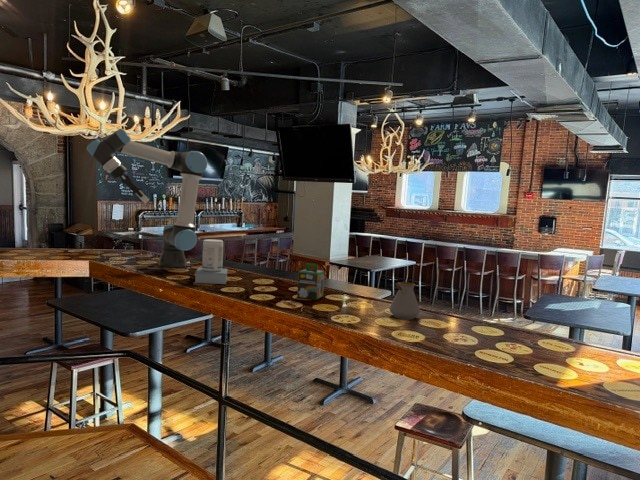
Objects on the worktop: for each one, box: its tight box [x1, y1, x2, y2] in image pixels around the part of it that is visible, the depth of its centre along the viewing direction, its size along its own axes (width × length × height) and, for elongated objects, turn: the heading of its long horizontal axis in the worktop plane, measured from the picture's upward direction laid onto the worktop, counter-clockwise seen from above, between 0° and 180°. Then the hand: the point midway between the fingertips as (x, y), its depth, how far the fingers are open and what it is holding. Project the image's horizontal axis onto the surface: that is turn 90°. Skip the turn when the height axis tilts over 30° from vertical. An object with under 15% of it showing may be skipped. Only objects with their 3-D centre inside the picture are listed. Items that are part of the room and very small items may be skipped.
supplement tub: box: [201, 238, 224, 272], centre depth 211 cm, size 10×10×15 cm
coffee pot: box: [388, 281, 421, 321], centre depth 161 cm, size 21×12×15 cm, turn 153°
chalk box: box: [296, 262, 325, 301], centre depth 190 cm, size 9×9×15 cm
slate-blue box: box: [194, 267, 228, 285], centre depth 212 cm, size 15×14×5 cm
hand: (147, 201), depth 220 cm, fingers open, 13 cm apart
